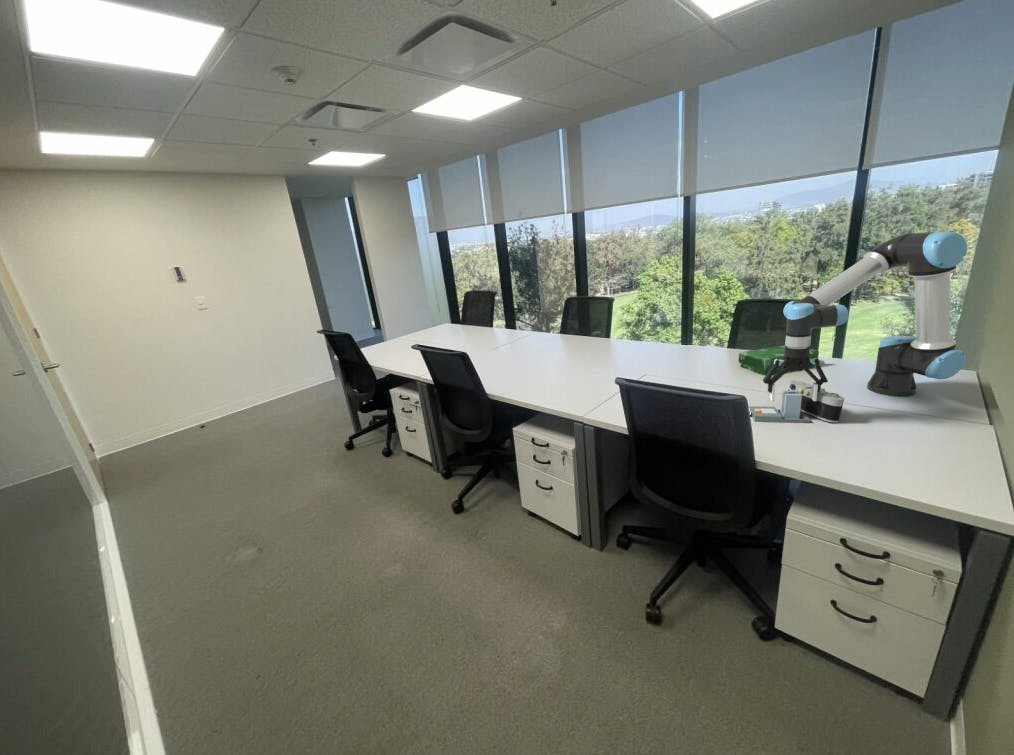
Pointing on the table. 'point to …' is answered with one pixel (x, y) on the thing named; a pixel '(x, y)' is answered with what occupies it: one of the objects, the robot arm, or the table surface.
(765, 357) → the box
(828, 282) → the robot arm
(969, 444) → the table surface
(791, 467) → the table surface
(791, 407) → the block
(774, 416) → the grey rectangular base
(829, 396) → the camera
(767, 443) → the table surface
